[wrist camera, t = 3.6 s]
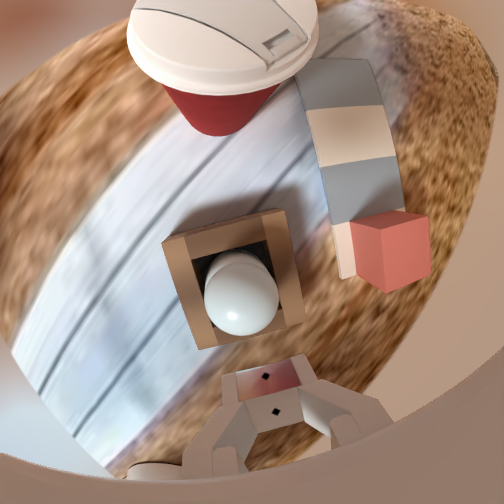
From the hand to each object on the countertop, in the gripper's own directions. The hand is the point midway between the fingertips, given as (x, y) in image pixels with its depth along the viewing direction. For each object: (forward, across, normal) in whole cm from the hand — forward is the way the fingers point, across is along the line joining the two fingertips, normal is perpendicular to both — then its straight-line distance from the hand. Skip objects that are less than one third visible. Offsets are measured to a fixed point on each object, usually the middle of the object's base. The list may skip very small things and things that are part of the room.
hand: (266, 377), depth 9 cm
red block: (+14, +13, -1) cm, 19 cm away
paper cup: (+15, +2, +13) cm, 20 cm away
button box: (+14, 0, -1) cm, 14 cm away
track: (+14, +13, +6) cm, 20 cm away
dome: (+13, 0, -1) cm, 13 cm away
